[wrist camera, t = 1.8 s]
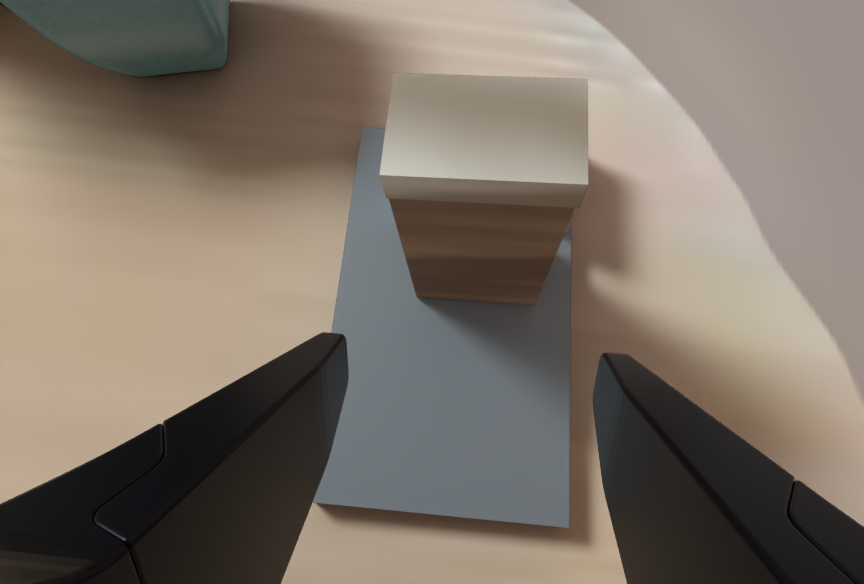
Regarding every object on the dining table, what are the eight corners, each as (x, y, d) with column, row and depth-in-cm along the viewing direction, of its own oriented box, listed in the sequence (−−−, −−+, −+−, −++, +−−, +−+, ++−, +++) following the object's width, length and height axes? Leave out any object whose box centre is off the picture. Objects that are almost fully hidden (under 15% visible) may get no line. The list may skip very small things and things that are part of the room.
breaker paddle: (535, 306, 22) (588, 184, 13) (415, 298, 23) (379, 175, 13) (537, 239, 23) (587, 78, 14) (422, 232, 24) (393, 73, 14)
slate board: (564, 525, 21) (579, 533, 18) (312, 500, 21) (289, 505, 19) (567, 148, 26) (580, 108, 23) (365, 139, 27) (353, 100, 24)
